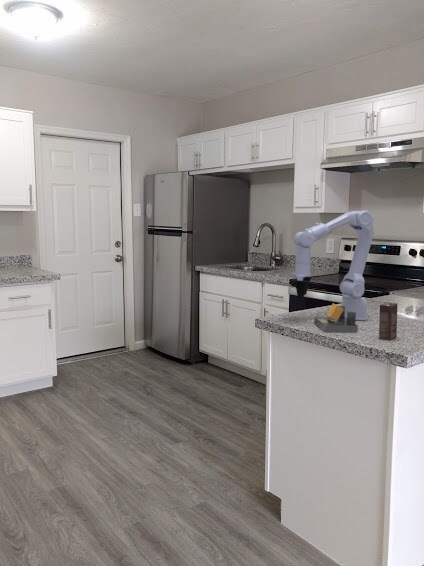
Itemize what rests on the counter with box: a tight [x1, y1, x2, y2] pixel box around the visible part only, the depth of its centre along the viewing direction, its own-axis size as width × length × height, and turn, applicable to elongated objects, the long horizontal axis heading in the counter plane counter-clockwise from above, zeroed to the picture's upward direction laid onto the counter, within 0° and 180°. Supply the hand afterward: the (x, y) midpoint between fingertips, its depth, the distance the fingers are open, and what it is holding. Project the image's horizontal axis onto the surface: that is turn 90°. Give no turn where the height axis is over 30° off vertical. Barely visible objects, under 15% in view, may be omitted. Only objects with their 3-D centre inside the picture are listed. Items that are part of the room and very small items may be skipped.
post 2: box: [347, 312, 357, 326], centre depth 178 cm, size 3×3×4 cm
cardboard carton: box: [326, 302, 344, 322], centre depth 183 cm, size 3×6×6 cm, turn 4°
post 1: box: [338, 305, 345, 319], centre depth 190 cm, size 3×3×4 cm
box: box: [378, 302, 398, 341], centre depth 168 cm, size 6×4×12 cm
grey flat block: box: [313, 316, 359, 334], centre depth 184 cm, size 12×15×3 cm
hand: (302, 296), depth 194 cm, fingers open, 7 cm apart
